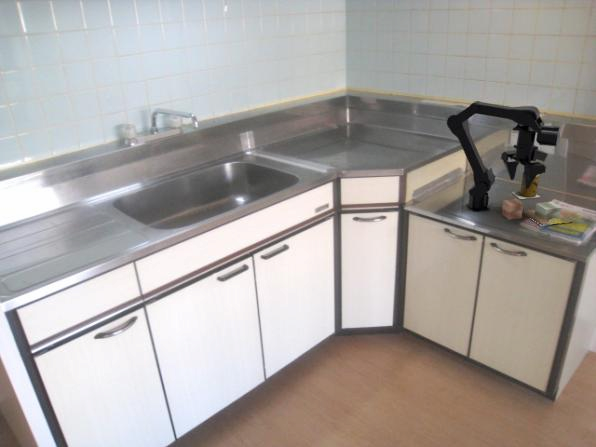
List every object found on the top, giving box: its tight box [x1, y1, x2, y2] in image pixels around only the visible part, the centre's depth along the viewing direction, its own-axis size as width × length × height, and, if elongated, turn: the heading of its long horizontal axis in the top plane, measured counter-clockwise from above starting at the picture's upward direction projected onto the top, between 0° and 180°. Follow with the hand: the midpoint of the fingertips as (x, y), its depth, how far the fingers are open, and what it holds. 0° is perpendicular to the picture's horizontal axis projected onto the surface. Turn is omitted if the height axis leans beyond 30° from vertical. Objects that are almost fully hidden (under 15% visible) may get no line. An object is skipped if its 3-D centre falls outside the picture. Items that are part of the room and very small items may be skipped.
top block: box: [501, 198, 524, 221], centre depth 186 cm, size 5×5×6 cm
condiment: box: [511, 169, 541, 200], centre depth 202 cm, size 7×8×12 cm
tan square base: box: [522, 201, 573, 225], centre depth 183 cm, size 12×12×5 cm
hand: (519, 184), depth 184 cm, fingers open, 9 cm apart
